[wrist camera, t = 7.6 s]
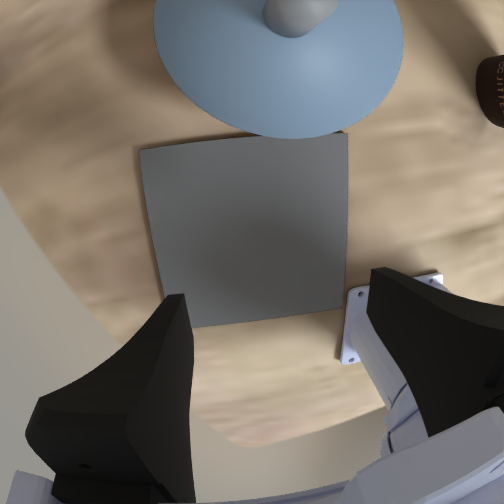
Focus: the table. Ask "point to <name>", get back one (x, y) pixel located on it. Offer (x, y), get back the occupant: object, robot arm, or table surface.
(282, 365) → the table surface
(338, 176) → the mat
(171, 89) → the table surface
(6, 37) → the table surface
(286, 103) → the lid
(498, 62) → the coffee mug
